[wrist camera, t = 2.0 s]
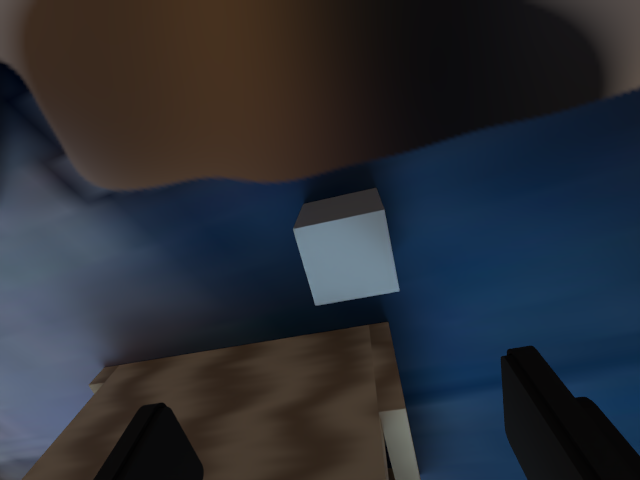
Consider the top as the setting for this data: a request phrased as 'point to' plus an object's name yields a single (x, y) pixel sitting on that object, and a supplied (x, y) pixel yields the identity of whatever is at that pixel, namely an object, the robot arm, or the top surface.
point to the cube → (346, 247)
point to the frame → (258, 410)
